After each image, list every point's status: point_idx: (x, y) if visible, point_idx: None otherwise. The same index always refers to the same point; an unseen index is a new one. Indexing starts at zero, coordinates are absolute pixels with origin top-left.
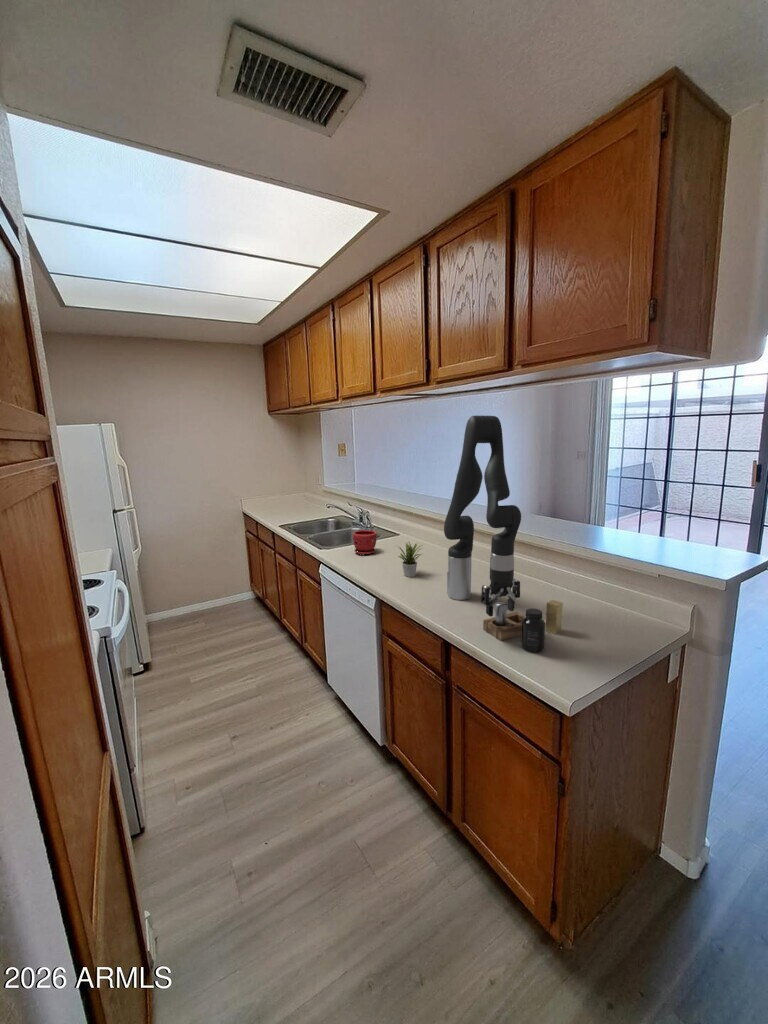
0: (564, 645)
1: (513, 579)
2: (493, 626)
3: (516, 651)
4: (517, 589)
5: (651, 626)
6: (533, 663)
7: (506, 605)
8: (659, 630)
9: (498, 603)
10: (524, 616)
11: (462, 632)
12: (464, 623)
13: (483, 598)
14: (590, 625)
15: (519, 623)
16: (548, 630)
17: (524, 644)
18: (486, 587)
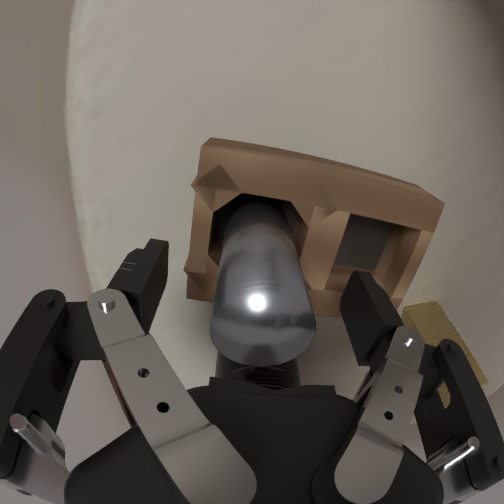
0: (341, 377)
1: (491, 484)
2: (190, 243)
3: (189, 337)
4: (424, 445)
5: (500, 375)
6: (183, 384)
7: (277, 362)
8: (489, 386)
9: (253, 315)
10: (418, 265)
11: (100, 105)
12: (182, 26)
13: (38, 338)
14: (481, 338)
15: (331, 299)
16: (404, 318)
17: (216, 363)
18: (5, 482)
